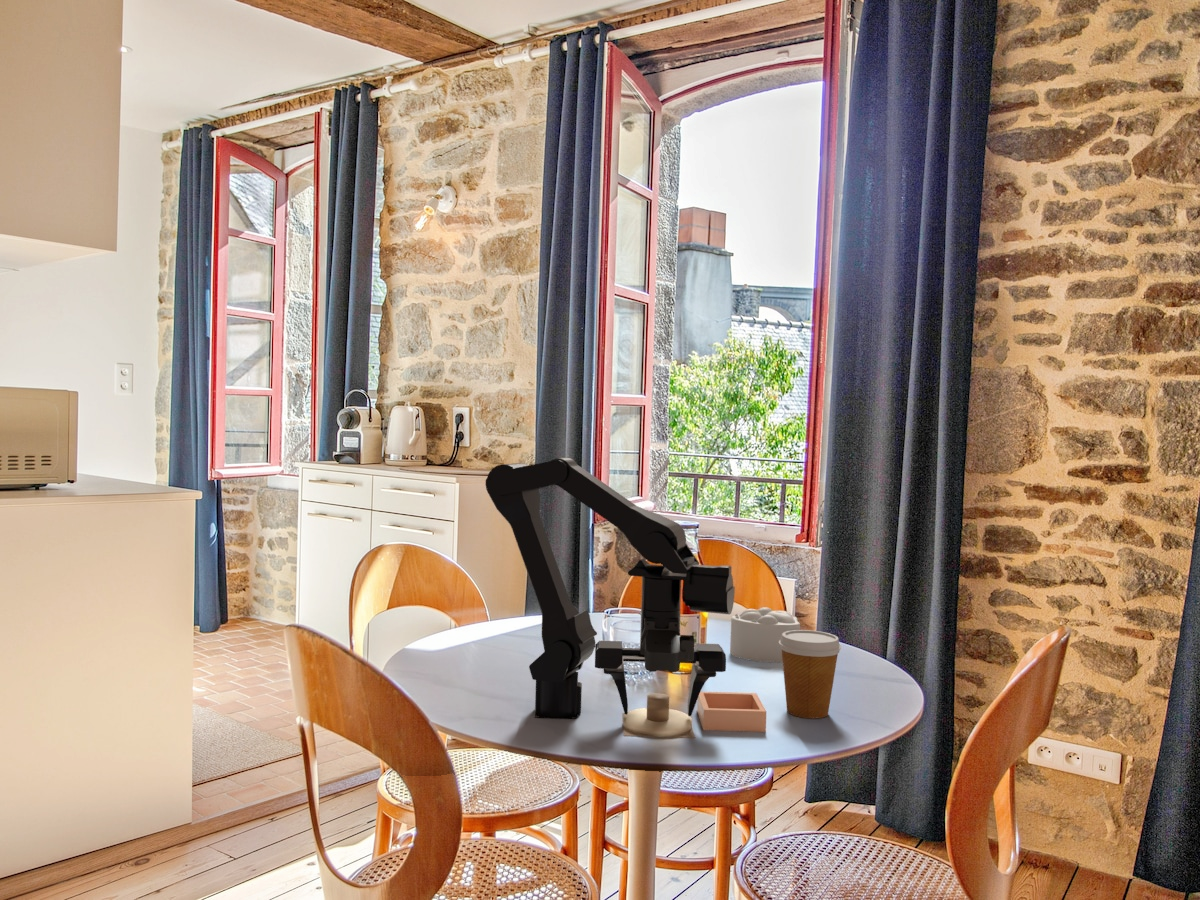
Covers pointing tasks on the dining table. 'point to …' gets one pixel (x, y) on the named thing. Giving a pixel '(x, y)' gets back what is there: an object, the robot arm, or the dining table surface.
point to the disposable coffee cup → (809, 671)
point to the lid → (657, 718)
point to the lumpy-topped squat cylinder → (760, 633)
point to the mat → (630, 733)
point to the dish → (731, 711)
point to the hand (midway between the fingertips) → (657, 714)
